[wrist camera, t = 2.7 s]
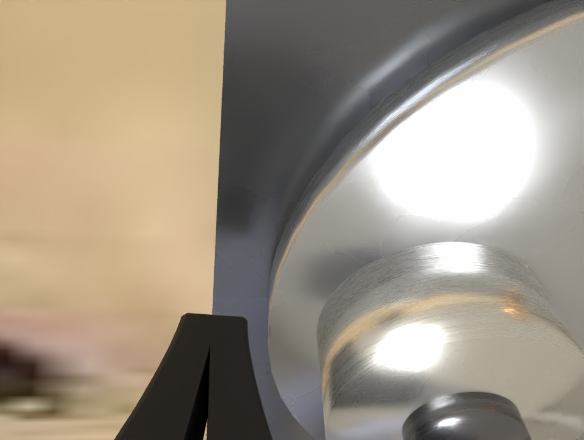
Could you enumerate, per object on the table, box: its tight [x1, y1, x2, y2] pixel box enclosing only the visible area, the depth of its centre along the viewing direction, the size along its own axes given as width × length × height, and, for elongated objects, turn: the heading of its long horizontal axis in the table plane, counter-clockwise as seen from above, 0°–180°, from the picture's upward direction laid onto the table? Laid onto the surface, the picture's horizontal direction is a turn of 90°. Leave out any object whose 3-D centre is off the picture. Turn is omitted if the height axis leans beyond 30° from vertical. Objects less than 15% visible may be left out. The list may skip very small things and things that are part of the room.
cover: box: [317, 242, 584, 440], centre depth 11 cm, size 6×6×3 cm
